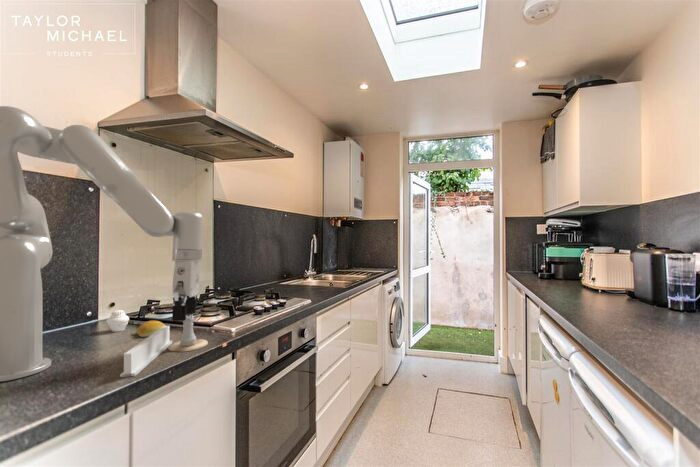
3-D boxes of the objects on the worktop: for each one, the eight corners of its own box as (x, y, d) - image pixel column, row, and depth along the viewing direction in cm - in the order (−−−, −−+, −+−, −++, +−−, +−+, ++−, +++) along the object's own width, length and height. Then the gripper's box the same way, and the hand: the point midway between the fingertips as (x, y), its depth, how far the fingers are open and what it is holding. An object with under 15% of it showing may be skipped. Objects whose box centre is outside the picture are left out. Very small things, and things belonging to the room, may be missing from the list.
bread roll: (140, 339, 102) (140, 326, 102) (135, 333, 109) (135, 321, 109) (170, 334, 107) (170, 321, 107) (163, 328, 114) (163, 316, 114)
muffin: (129, 327, 116) (129, 306, 116) (129, 331, 110) (129, 309, 111) (107, 329, 112) (107, 309, 112) (105, 334, 107) (105, 312, 107)
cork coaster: (162, 353, 89) (162, 351, 89) (175, 341, 99) (175, 340, 99) (202, 350, 91) (202, 348, 91) (211, 339, 101) (211, 338, 101)
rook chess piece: (178, 343, 95) (178, 315, 95) (195, 341, 98) (195, 313, 98) (180, 348, 92) (180, 318, 92) (198, 344, 94) (198, 316, 94)
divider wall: (120, 377, 74) (120, 354, 74) (161, 343, 97) (161, 326, 97) (135, 376, 74) (135, 353, 74) (172, 342, 98) (172, 325, 98)
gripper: (192, 257, 87) (189, 323, 86) (208, 254, 104) (206, 310, 104) (161, 256, 86) (158, 324, 85) (182, 254, 103) (180, 310, 102)
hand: (184, 316), depth 94 cm, fingers open, 9 cm apart
